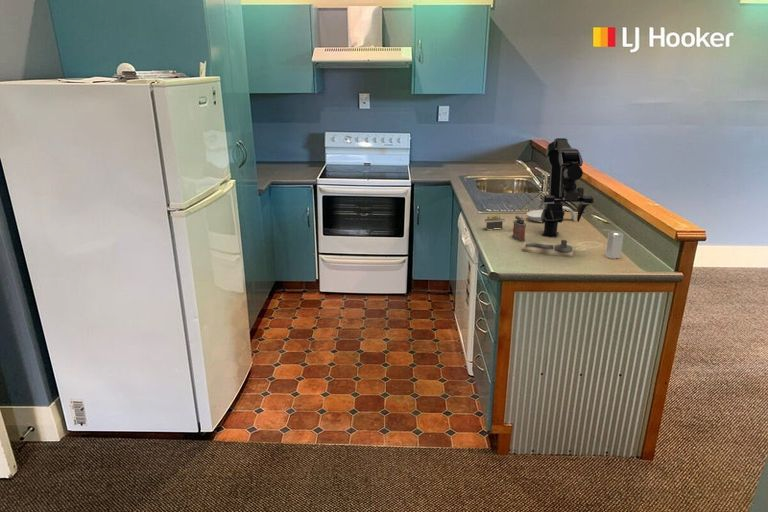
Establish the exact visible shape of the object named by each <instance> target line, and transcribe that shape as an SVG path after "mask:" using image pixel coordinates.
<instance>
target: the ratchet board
mask: <svg viewBox="0 0 768 512" xmlns="http://www.w3.org/2000/svg"><path fill="white" fill-rule="evenodd" d="M567 243H568V241H567V239H561V240H560V244H548V243H538V242H529V241H524V244H523V245H522V247H521V249H520V250H521V252H526V253H535V254H543V255H551V256H559V257H566V258H572V257H573V255H574V253H575V246H574V247H573V246H571V245H569V244H567Z"/></svg>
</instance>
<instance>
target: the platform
mask: <svg viewBox="0 0 768 512" xmlns="http://www.w3.org/2000/svg"><path fill="white" fill-rule="evenodd" d="M503 222H506V219H505V218H501V216H498V215H489V216H487V217H486V218H485V219H484V223H486V226H485V227H486V229H494V228H502V229H503V224H504V223H503ZM486 229H485V230H486Z"/></svg>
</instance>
